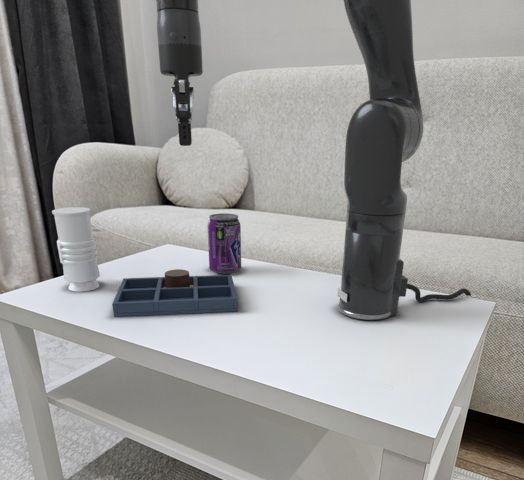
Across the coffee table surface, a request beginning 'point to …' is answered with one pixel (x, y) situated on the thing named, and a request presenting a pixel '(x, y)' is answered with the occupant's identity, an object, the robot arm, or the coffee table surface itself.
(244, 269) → the coffee table surface
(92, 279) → the white ribbed cylinder
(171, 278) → the brown cylindrical piece
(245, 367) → the coffee table surface
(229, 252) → the beverage can
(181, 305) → the grey compartment tray
